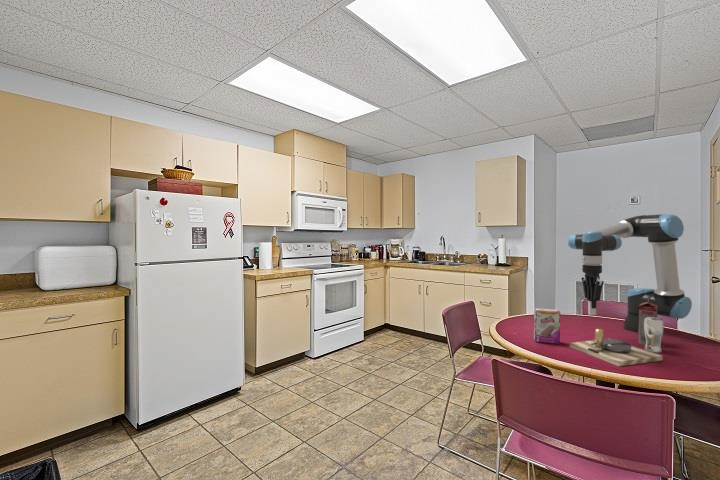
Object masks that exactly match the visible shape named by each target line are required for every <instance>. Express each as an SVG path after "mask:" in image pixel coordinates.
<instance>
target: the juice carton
mask: <svg viewBox="0 0 720 480" xmlns="http://www.w3.org/2000/svg"><path fill="white" fill-rule="evenodd" d="M644 317H656V318H658V315H657V305H655V304H653V303H651V302H649V298H648V302H644V303H641V304H640V305H639V332H638V344H640V345H644V346H645V344H646V339H645V334H644Z"/></svg>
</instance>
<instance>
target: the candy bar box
mask: <svg viewBox="0 0 720 480" xmlns="http://www.w3.org/2000/svg"><path fill="white" fill-rule="evenodd" d="M533 310H534V311H533V313H534V316H533V340H534V342H535V343H543V344H552V345H554V344H555V345H560V344H561V343H560V339H561V311H560V310H559V309H549V308H548V309H547V308H537V307H534V309H533Z"/></svg>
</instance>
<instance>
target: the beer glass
mask: <svg viewBox="0 0 720 480" xmlns="http://www.w3.org/2000/svg"><path fill="white" fill-rule="evenodd" d="M644 334H645V339H646V344H645V345H644V350H646V351H649V352H652V353H655V354H660V353H662V352H663V351H662V344H661V343H662V339H663V336H664V319H663V318H659V317H657V318H656V317H644Z"/></svg>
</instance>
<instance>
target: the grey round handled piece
mask: <svg viewBox="0 0 720 480" xmlns="http://www.w3.org/2000/svg"><path fill="white" fill-rule="evenodd" d="M594 340H595V343H591V344H592V345H595V347H597V348H602V349H604V350H607V351H611V352H617V353H629V352H631V346H632V344H630V343H628V342H626V341H623V340H619V339H615V338H614V339H613V338H604V329H602V328H595V329H594Z"/></svg>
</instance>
